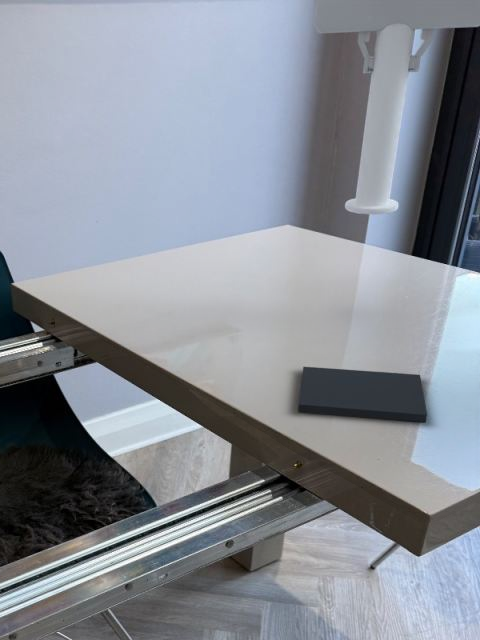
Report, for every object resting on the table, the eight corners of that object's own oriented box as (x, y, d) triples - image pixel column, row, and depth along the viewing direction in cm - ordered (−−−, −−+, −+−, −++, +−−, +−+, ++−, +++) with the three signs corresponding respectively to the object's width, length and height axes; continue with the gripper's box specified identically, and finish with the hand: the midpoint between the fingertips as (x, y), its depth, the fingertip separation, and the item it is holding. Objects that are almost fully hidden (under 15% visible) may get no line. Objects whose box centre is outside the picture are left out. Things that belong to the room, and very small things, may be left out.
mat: (418, 381, 97) (420, 374, 96) (425, 422, 88) (427, 414, 88) (302, 373, 100) (303, 366, 100) (298, 412, 91) (299, 404, 91)
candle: (373, 200, 113) (402, -8, 99) (409, 209, 107) (445, -9, 94) (334, 207, 111) (358, -5, 97) (368, 217, 105) (399, -6, 91)
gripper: (317, -57, 92) (305, 77, 100) (506, -70, 87) (479, 72, 95) (319, -55, 97) (307, 72, 105) (498, -67, 92) (472, 67, 100)
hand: (390, 72), depth 100 cm, fingers closed on candle, 4 cm apart
